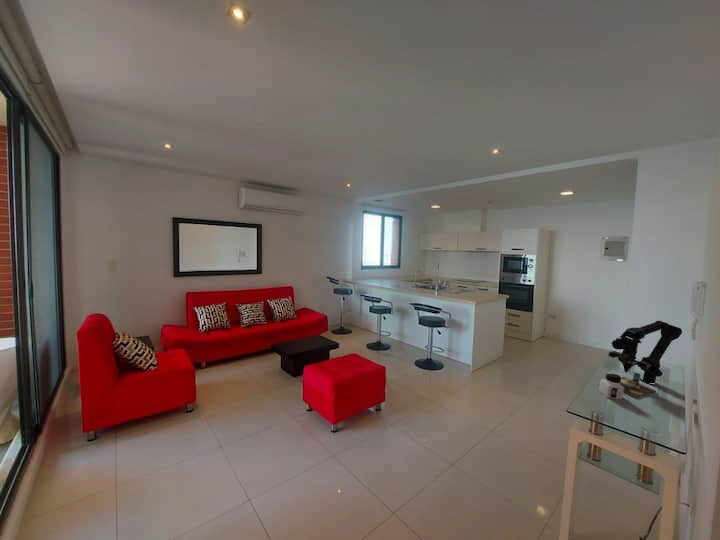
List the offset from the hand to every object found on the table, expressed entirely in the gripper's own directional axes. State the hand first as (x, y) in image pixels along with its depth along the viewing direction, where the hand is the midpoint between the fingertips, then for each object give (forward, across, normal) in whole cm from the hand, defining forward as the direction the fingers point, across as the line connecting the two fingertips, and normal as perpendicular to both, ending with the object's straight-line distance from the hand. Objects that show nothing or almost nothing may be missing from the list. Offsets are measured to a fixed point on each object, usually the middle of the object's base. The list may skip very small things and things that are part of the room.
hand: (626, 372), depth 183 cm
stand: (+7, +5, -5) cm, 10 cm away
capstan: (+5, +4, -4) cm, 8 cm away
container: (+7, +4, -26) cm, 28 cm away
